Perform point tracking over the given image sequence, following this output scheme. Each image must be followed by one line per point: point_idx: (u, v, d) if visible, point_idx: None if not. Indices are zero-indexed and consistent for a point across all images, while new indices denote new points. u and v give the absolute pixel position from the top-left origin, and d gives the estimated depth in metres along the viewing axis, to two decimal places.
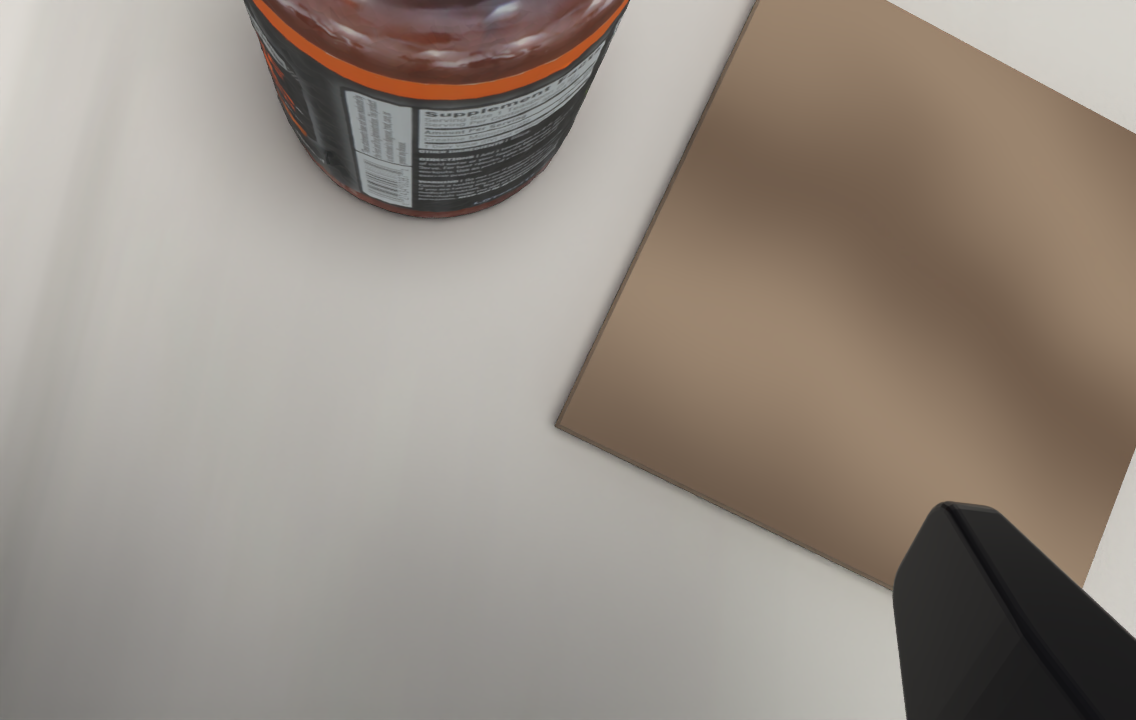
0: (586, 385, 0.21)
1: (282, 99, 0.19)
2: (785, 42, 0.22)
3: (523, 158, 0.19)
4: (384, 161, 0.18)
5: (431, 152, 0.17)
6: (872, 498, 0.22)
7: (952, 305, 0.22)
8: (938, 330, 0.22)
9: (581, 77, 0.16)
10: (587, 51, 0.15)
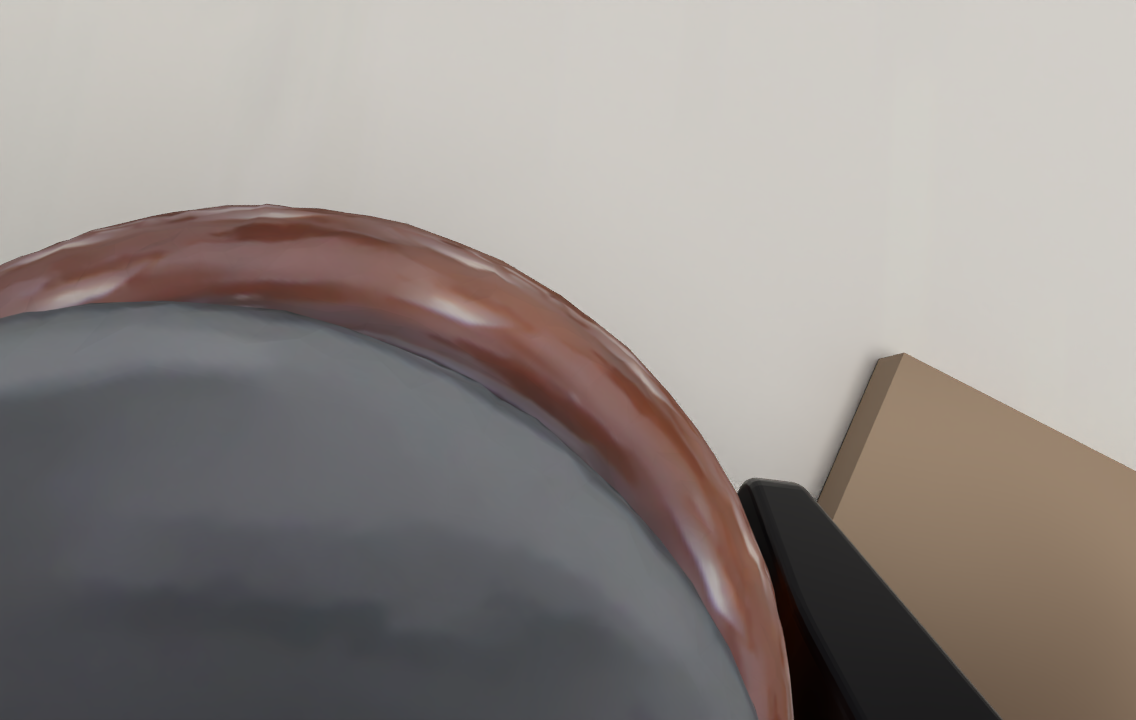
0: None
1: None
2: (905, 507, 0.14)
3: None
4: None
5: None
6: None
7: None
8: None
9: None
10: None
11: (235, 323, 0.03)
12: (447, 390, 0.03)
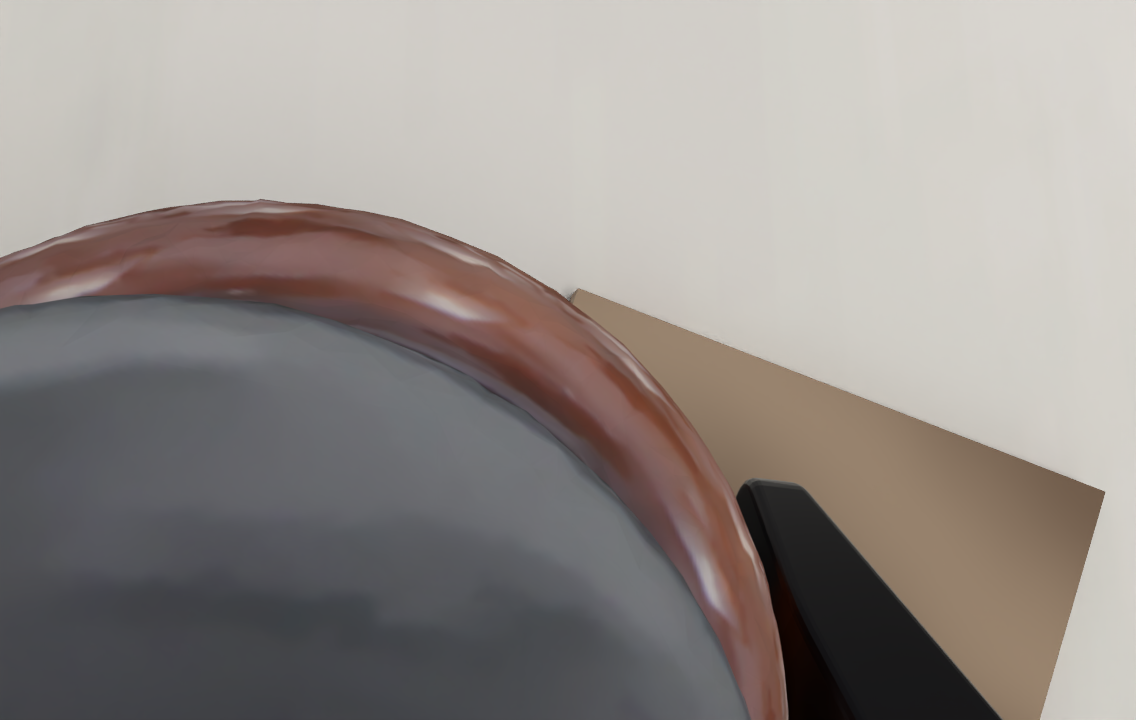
0: None
1: None
2: None
3: None
4: None
5: None
6: None
7: None
8: None
9: None
10: None
11: (224, 317, 0.03)
12: (436, 383, 0.03)
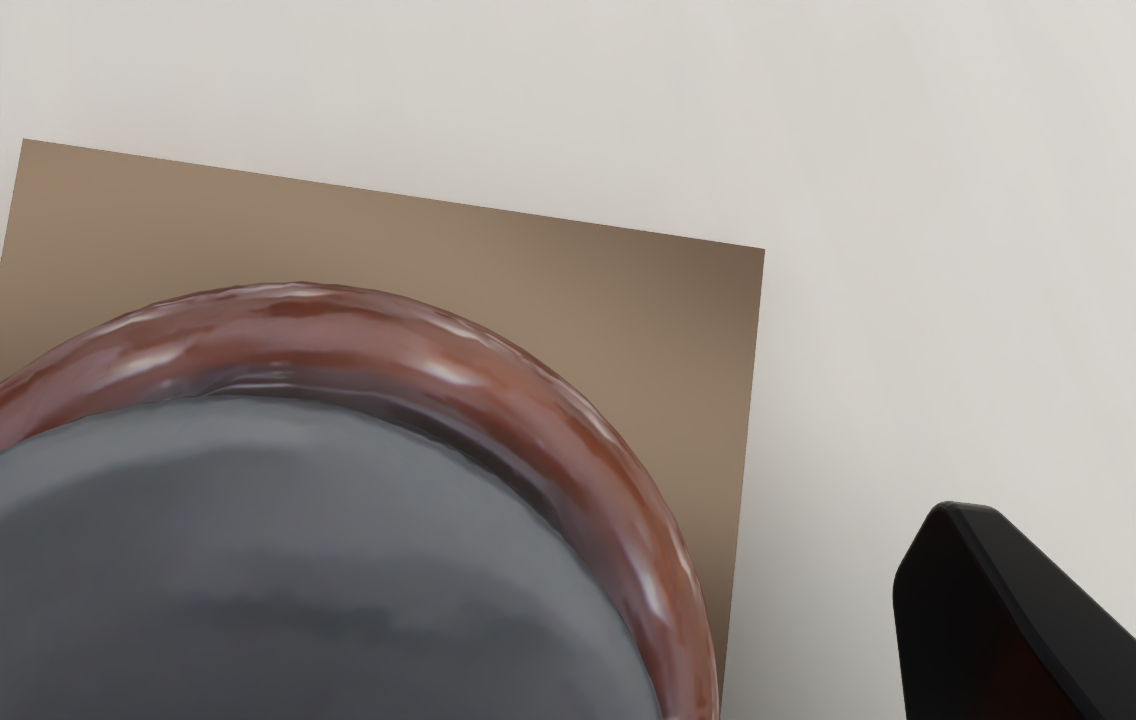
0: None
1: None
2: (61, 275, 0.15)
3: None
4: None
5: None
6: None
7: None
8: None
9: None
10: None
11: (285, 412, 0.05)
12: (433, 459, 0.05)
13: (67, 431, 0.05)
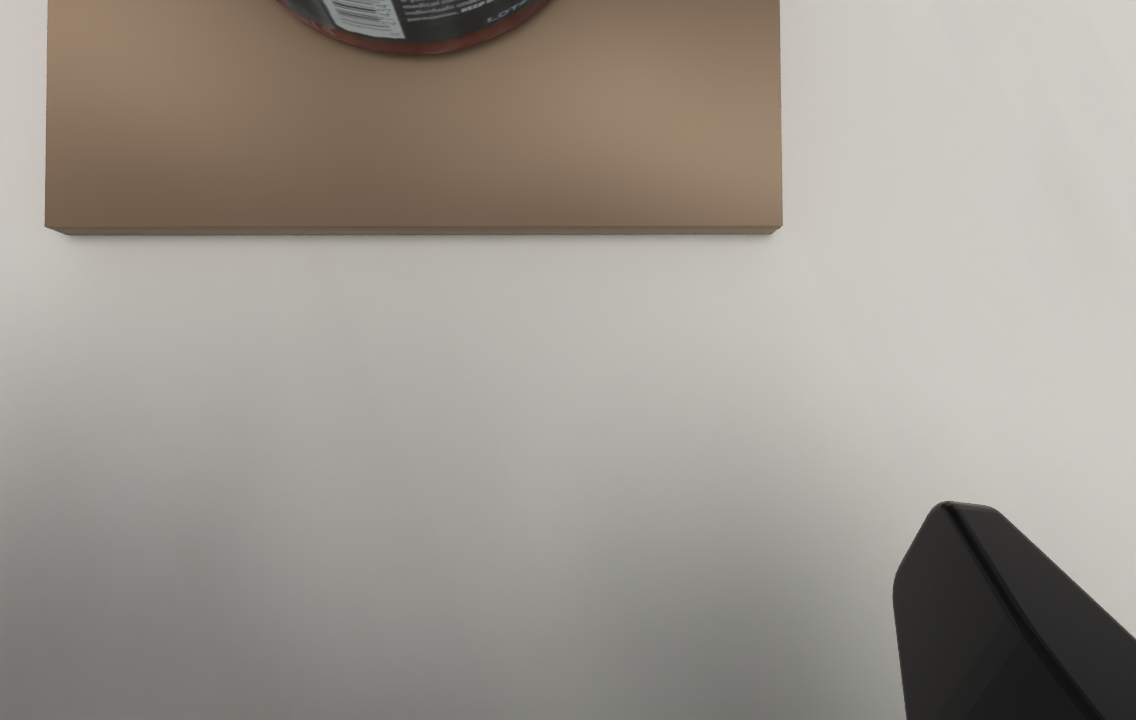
0: (55, 166, 0.16)
1: None
2: None
3: None
4: None
5: None
6: (467, 133, 0.16)
7: None
8: None
9: None
10: None
11: None
12: None
13: None
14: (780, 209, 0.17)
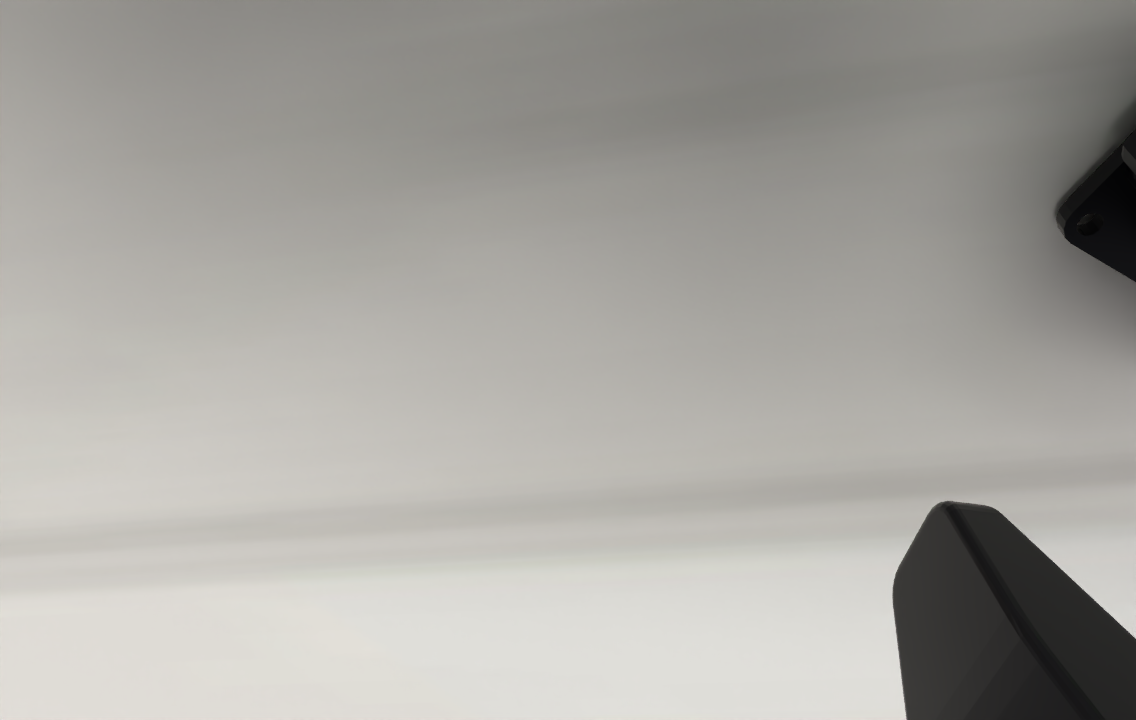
0: None
1: None
2: None
3: None
4: None
5: None
6: None
7: None
8: None
9: None
10: None
11: None
12: None
13: None
14: None
